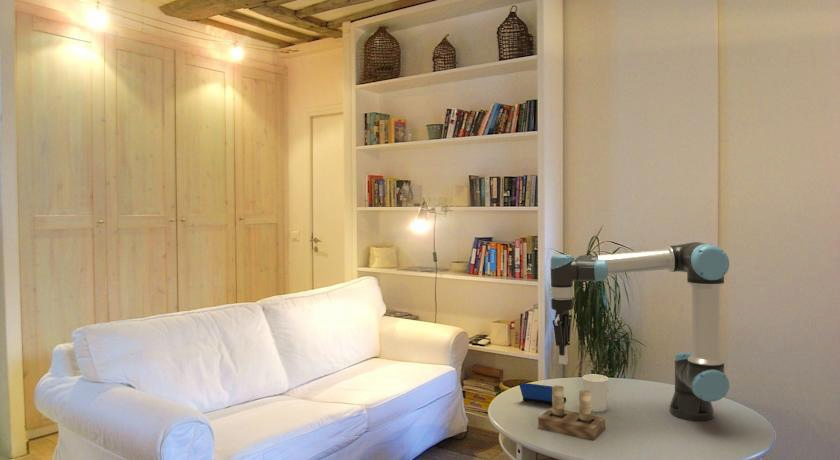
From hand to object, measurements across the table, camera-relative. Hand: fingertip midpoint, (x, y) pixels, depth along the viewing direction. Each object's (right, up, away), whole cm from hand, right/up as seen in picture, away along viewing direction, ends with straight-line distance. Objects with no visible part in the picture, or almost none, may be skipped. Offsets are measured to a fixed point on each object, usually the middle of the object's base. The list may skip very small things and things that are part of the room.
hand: (563, 363), depth 216 cm
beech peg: (-2, -22, 0) cm, 22 cm away
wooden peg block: (+2, -22, -3) cm, 23 cm away
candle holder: (+17, -21, +18) cm, 32 cm away
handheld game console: (-2, -22, +26) cm, 34 cm away
